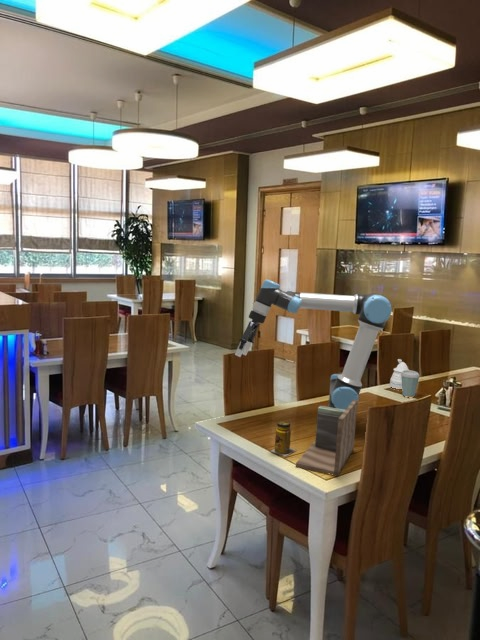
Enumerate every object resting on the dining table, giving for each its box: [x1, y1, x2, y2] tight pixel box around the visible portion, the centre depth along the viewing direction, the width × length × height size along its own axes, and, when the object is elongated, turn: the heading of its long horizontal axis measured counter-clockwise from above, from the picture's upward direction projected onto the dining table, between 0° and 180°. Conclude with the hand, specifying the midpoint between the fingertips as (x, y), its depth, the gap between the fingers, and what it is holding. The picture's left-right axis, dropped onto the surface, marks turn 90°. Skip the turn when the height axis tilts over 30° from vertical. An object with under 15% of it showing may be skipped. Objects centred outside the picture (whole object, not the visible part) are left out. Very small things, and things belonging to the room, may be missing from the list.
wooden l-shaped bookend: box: [295, 400, 359, 476], centre depth 195 cm, size 28×16×22 cm, turn 156°
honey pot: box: [389, 358, 409, 389], centre depth 310 cm, size 13×13×18 cm
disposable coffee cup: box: [401, 369, 420, 397], centre depth 291 cm, size 11×11×15 cm
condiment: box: [271, 420, 297, 457], centre depth 200 cm, size 7×8×12 cm
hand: (240, 355), depth 227 cm, fingers open, 13 cm apart
